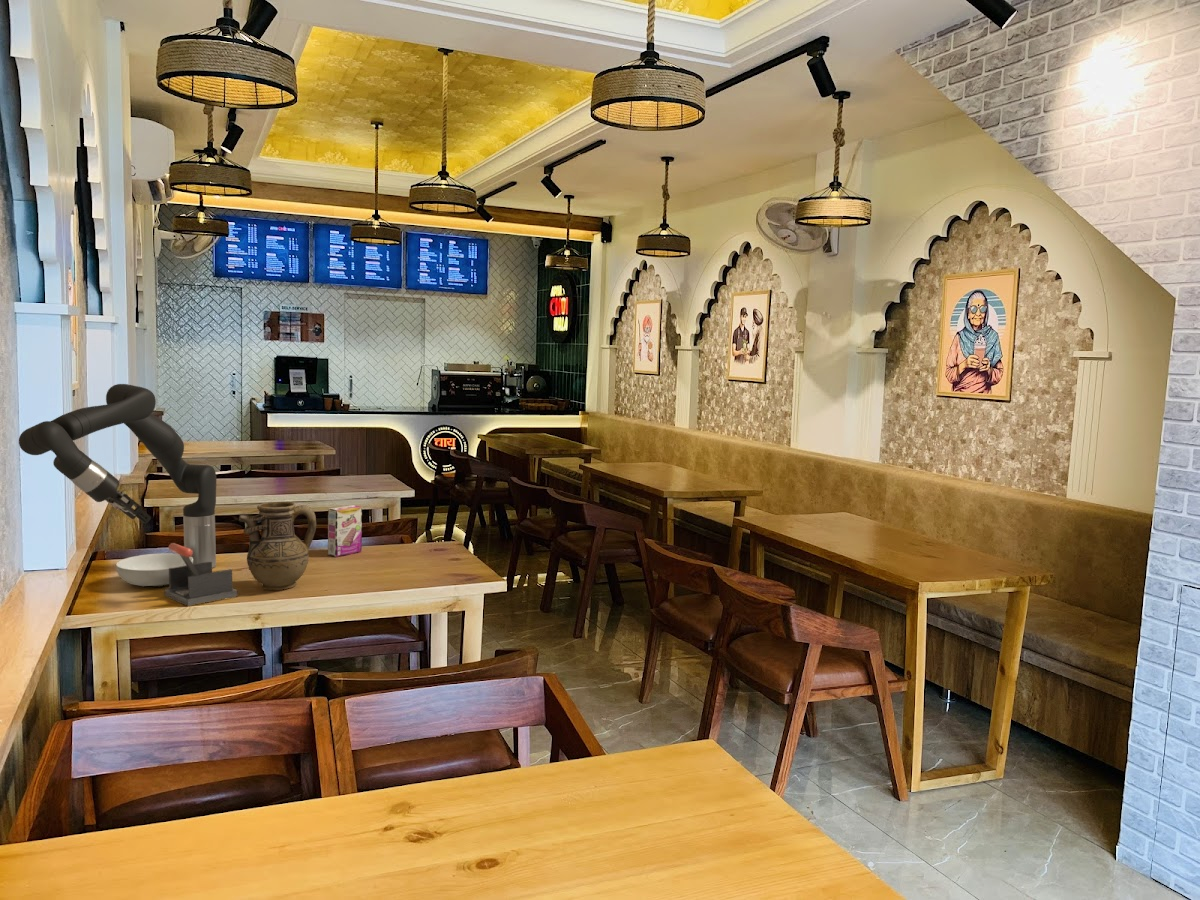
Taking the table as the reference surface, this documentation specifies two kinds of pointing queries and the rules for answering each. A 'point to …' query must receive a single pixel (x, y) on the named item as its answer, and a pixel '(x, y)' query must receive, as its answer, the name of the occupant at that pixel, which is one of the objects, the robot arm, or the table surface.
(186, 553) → the switch lever
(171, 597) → the switch box
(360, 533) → the candy bar box
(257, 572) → the decorative pitcher
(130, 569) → the serving bowl
